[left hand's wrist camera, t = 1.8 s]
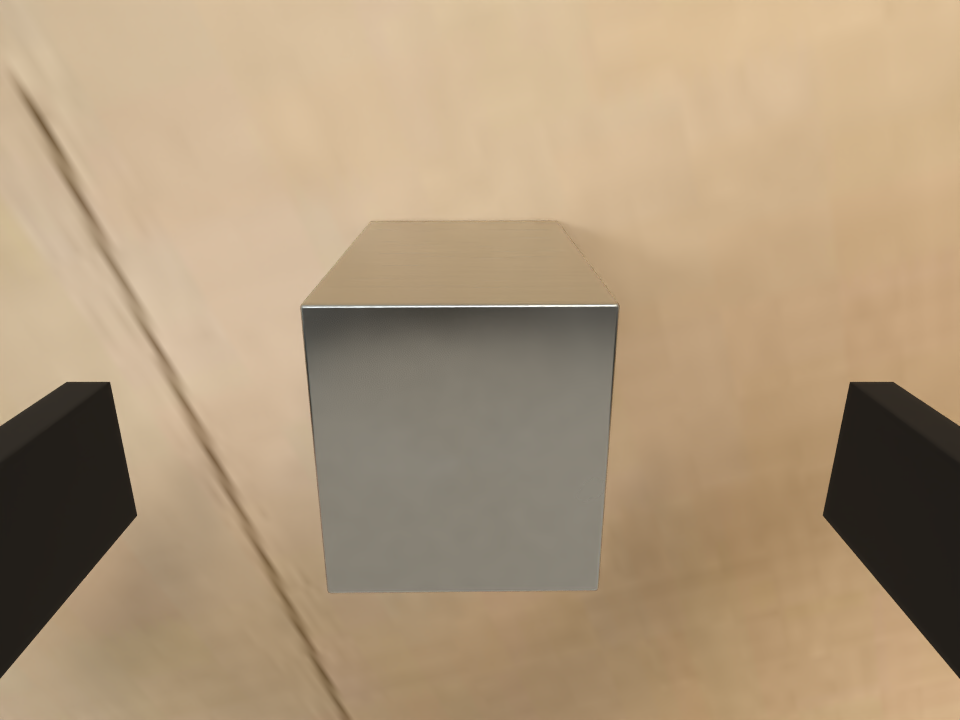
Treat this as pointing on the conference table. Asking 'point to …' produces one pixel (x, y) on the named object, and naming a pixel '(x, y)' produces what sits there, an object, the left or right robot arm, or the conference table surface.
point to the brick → (461, 408)
